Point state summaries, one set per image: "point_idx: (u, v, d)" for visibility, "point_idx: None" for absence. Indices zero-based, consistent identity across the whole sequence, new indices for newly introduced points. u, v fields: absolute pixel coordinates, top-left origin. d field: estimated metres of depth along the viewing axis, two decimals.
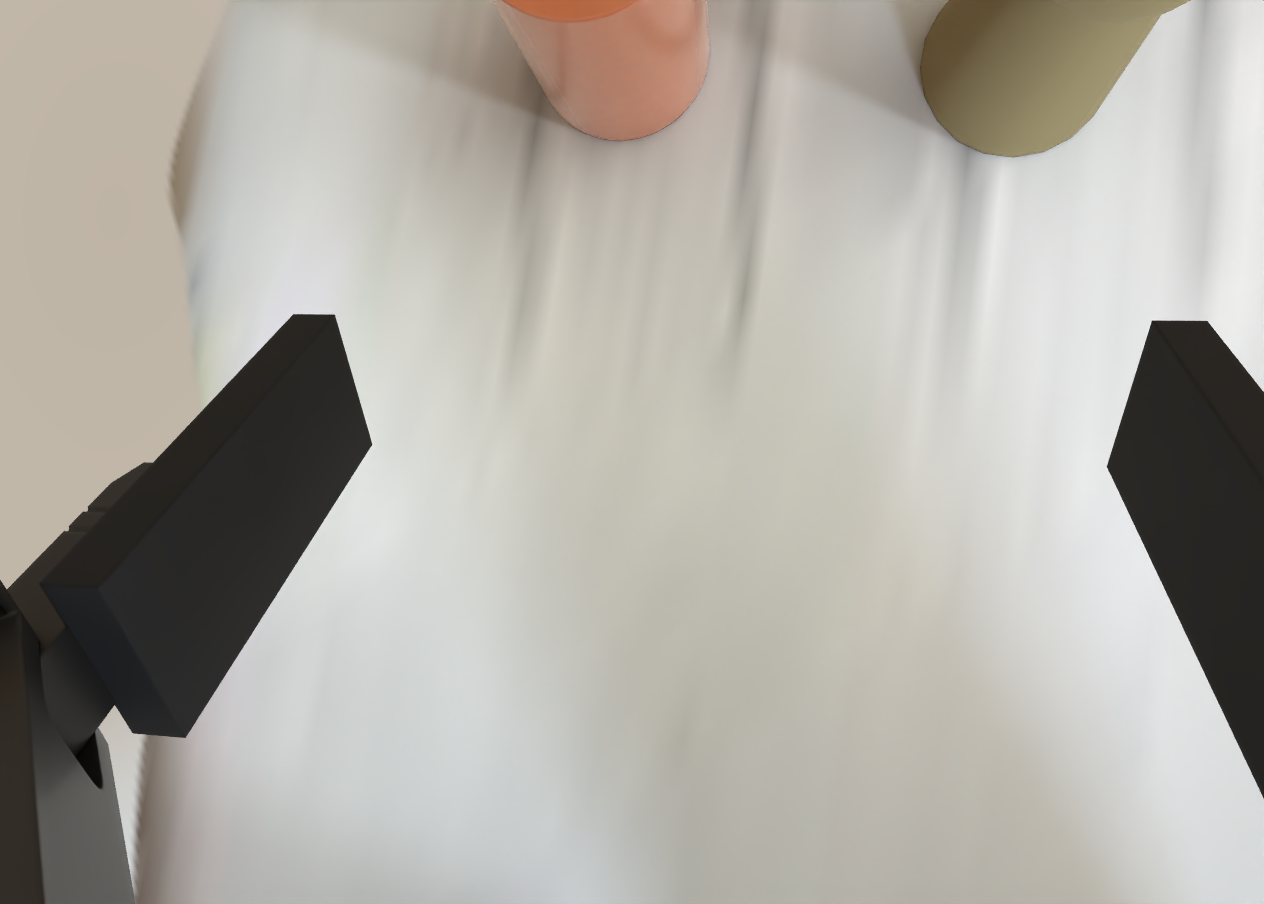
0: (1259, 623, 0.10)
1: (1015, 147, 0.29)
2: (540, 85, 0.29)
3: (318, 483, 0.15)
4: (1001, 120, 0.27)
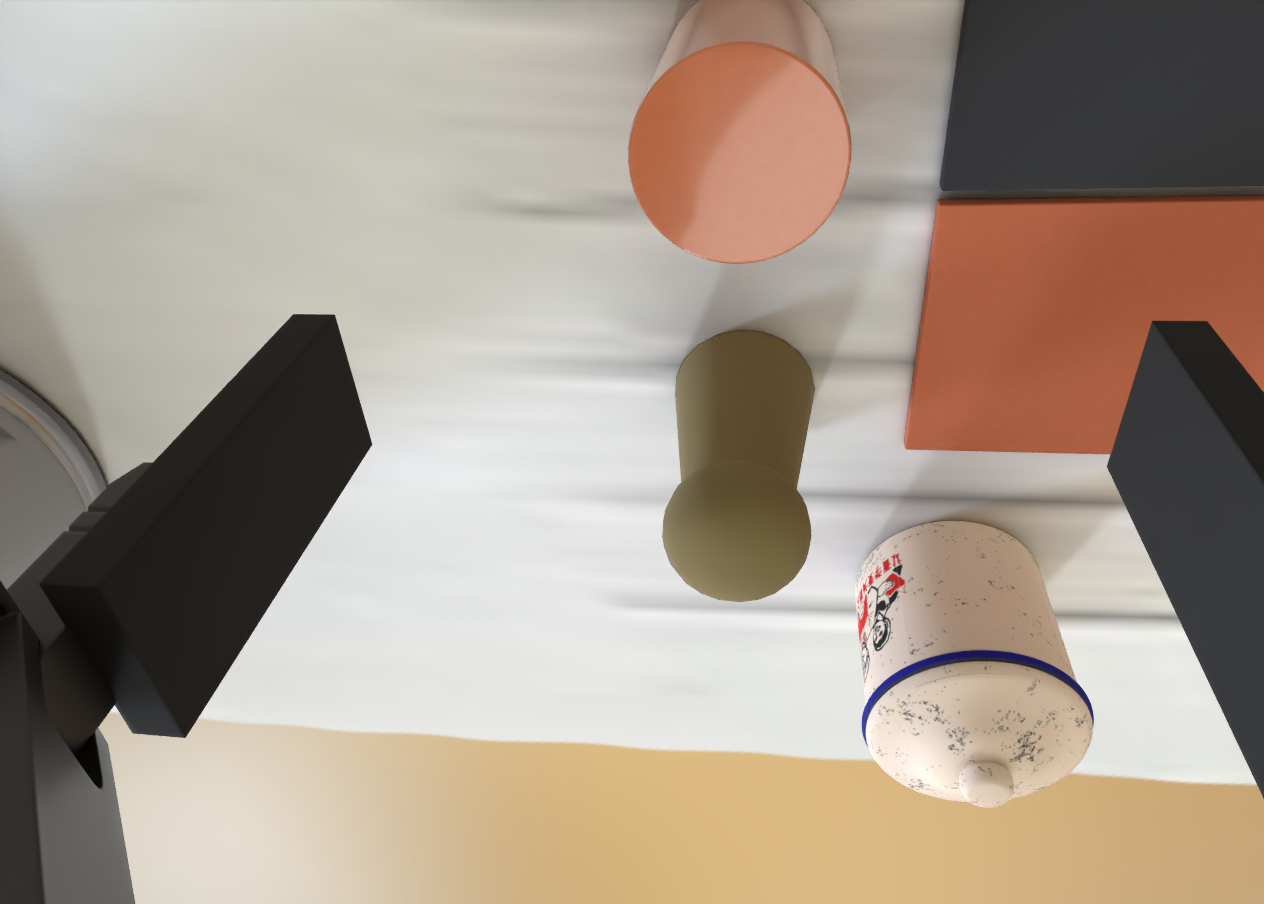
0: (1259, 623, 0.10)
1: (676, 399, 0.39)
2: (688, 16, 0.29)
3: (318, 483, 0.15)
4: (679, 401, 0.37)
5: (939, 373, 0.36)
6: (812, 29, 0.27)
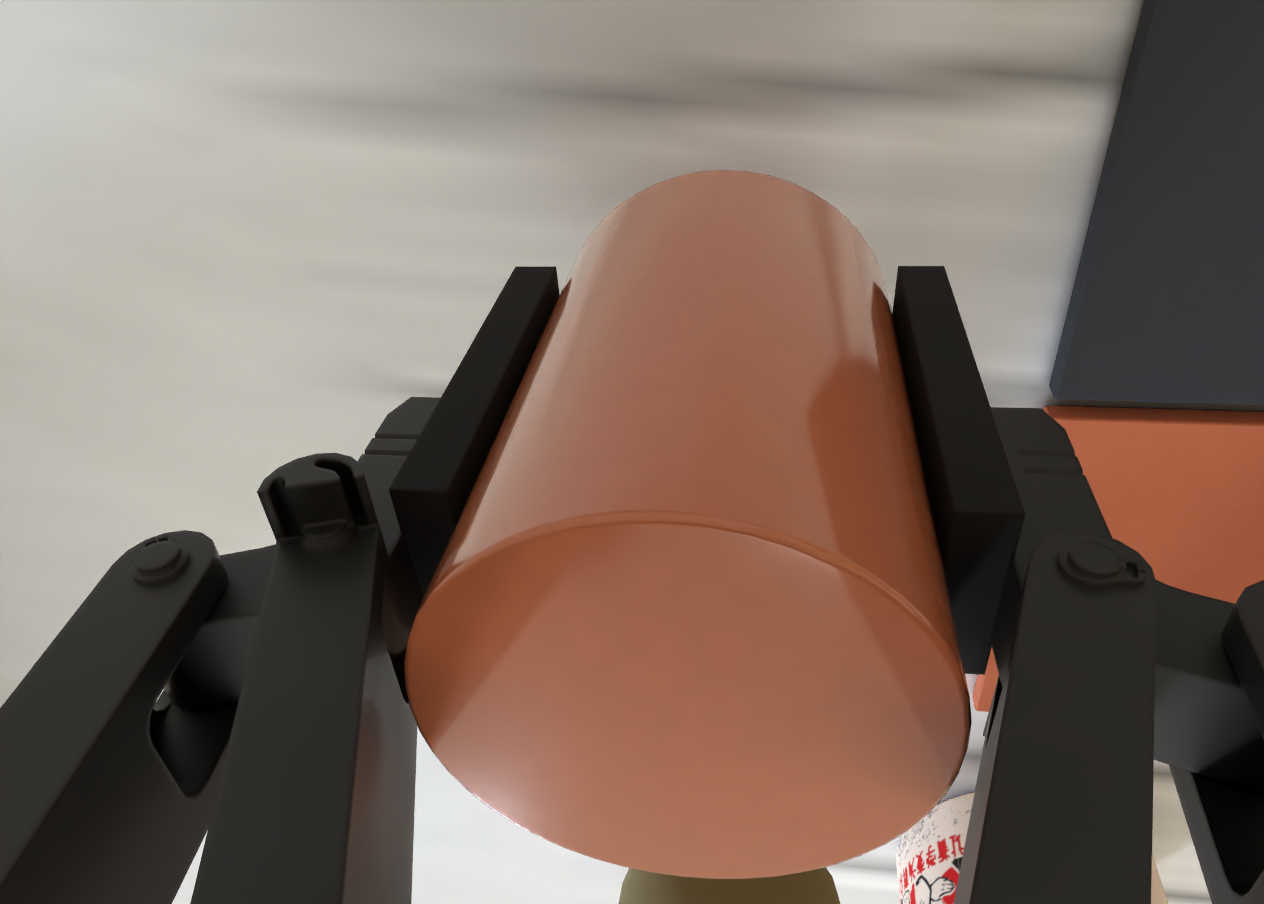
0: None
1: None
2: (598, 248, 0.14)
3: None
4: None
5: None
6: (856, 319, 0.12)
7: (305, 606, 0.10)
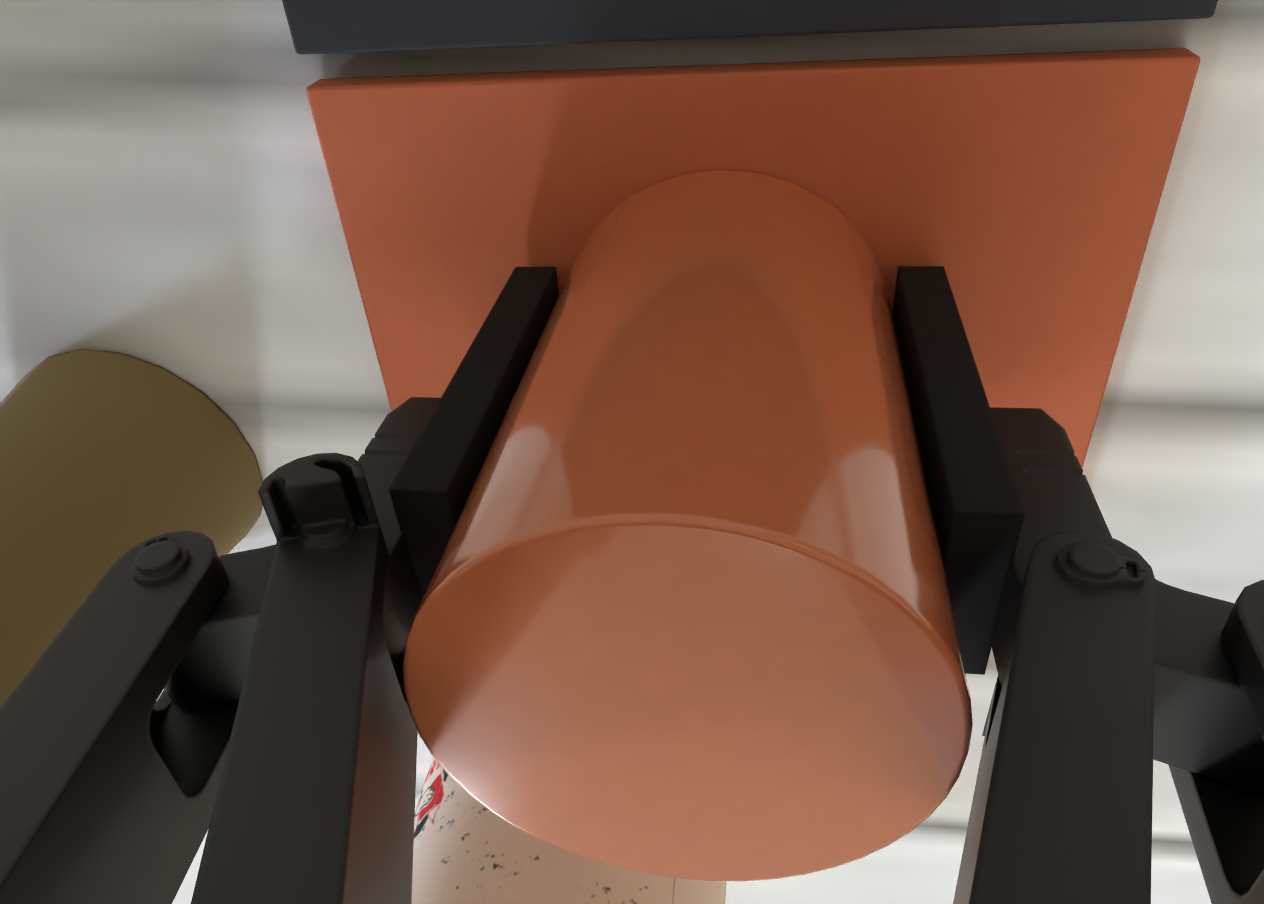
0: None
1: None
2: (597, 249, 0.14)
3: None
4: None
5: None
6: (856, 319, 0.12)
7: (305, 606, 0.10)
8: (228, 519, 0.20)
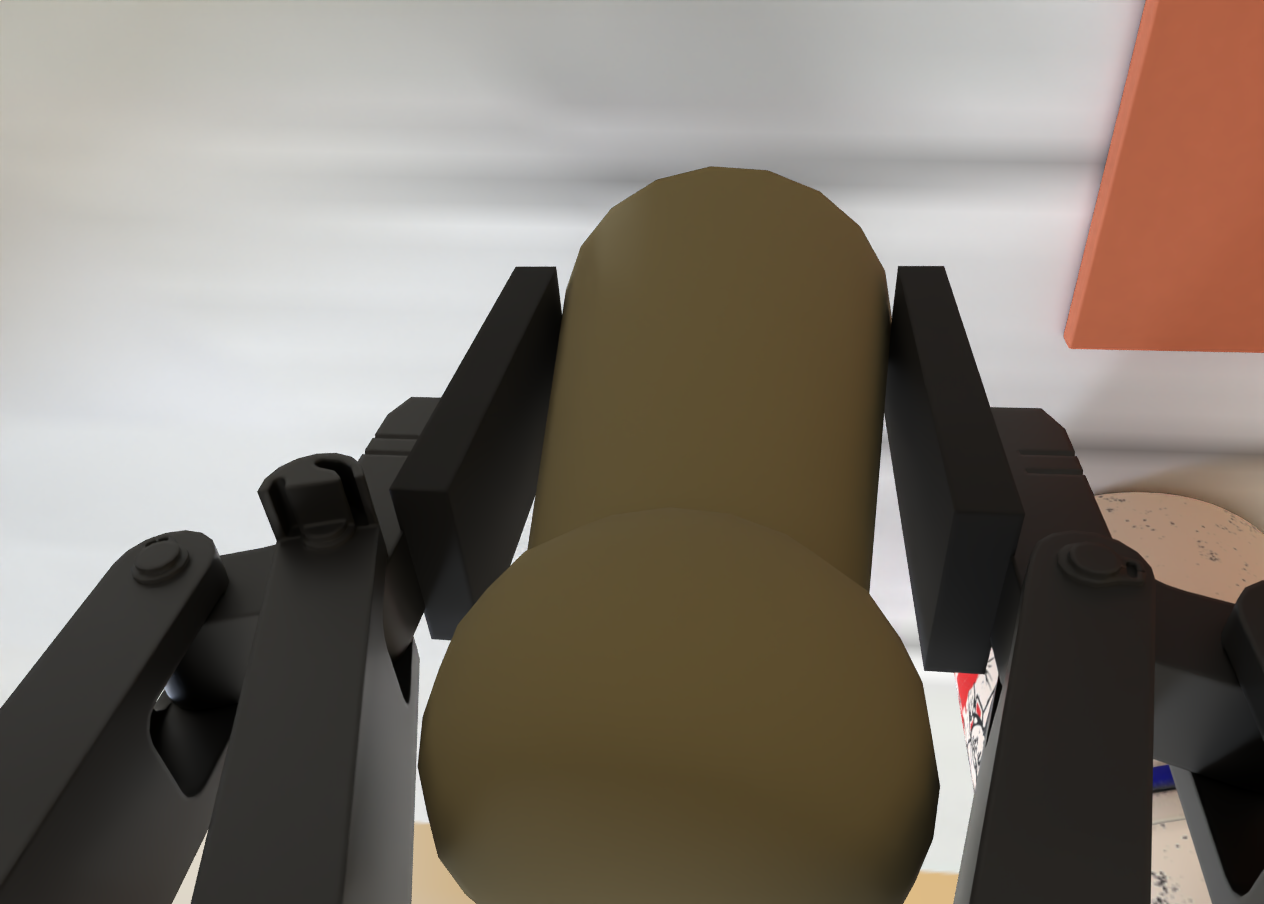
0: (923, 504, 0.12)
1: None
2: None
3: None
4: (559, 343, 0.15)
5: (1160, 179, 0.18)
6: None
7: (305, 606, 0.10)
8: None
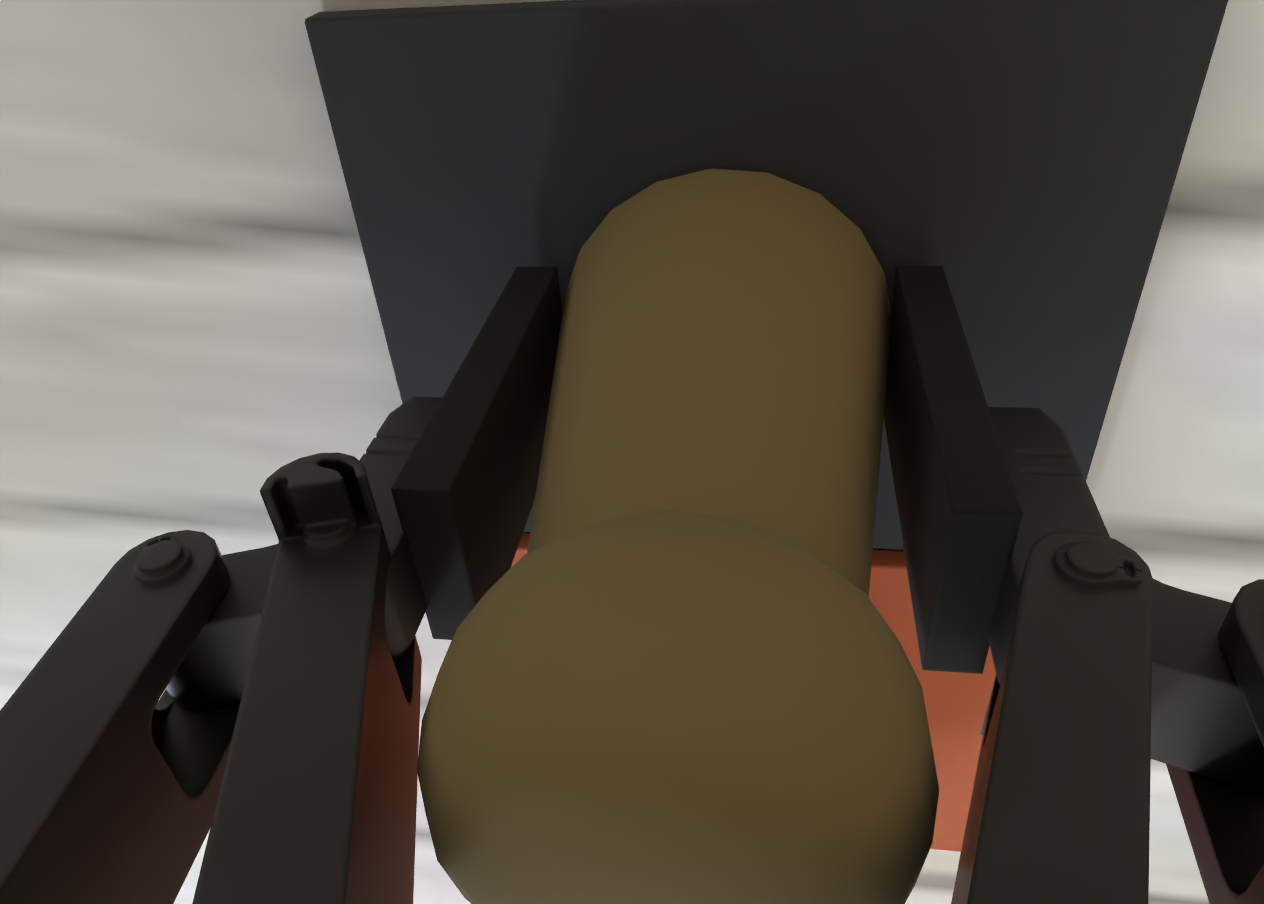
0: (921, 504, 0.12)
1: None
2: None
3: None
4: (559, 346, 0.15)
5: None
6: None
7: (307, 606, 0.10)
8: None
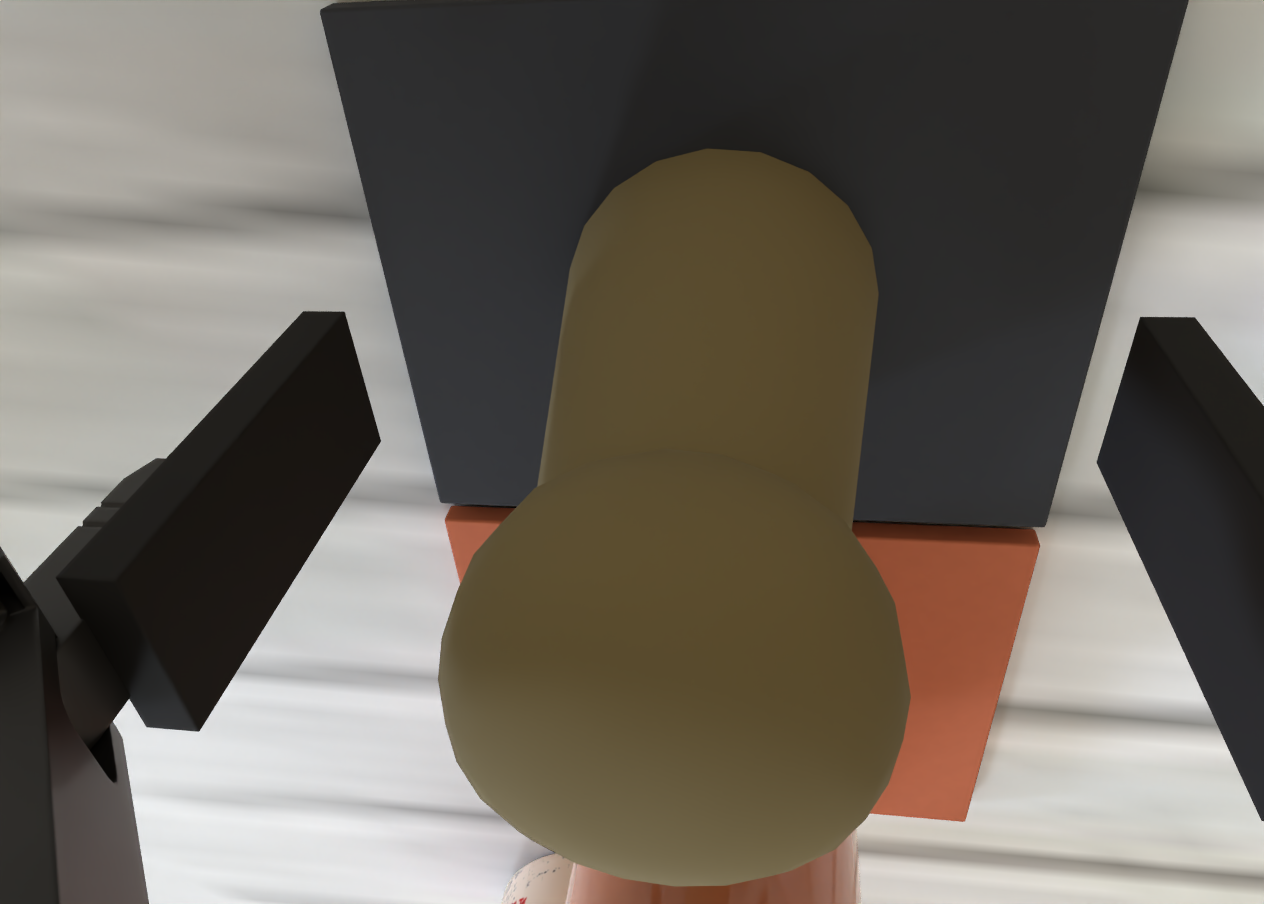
0: (1242, 615, 0.10)
1: None
2: None
3: (328, 480, 0.15)
4: (564, 315, 0.16)
5: None
6: None
7: None
8: None
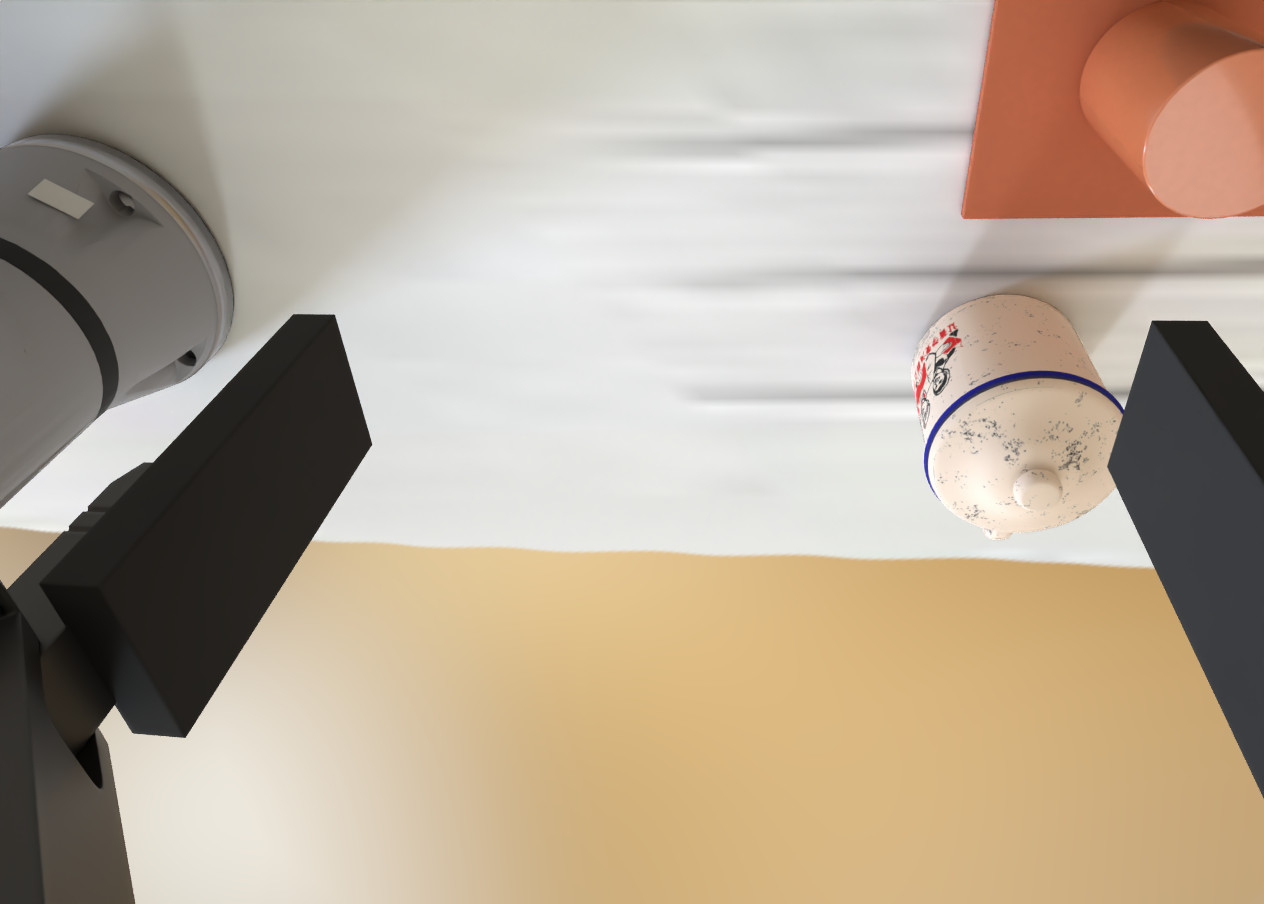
0: (1260, 623, 0.10)
1: None
2: (1135, 26, 0.36)
3: (319, 483, 0.15)
4: None
5: (996, 138, 0.41)
6: None
7: None
8: None
